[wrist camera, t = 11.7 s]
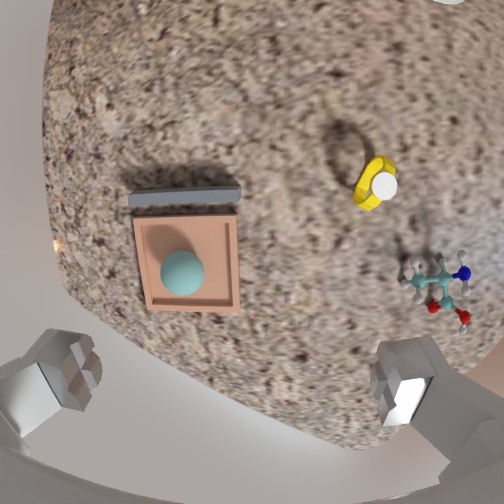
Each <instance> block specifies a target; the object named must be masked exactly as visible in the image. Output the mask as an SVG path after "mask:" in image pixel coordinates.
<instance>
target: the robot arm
mask: <svg viewBox="0 0 504 504" xmlns="http://www.w3.org/2000/svg"><path fill="white" fill-rule="evenodd" d="M434 1H436V2H440V3H443V4H459V3H462V2H463V1H465V0H434ZM93 348H94V343H93V341H92V338H91V337H90V336H88V335H86V334H81V333H75V332H69V331H64V330H57V329H52V328H51V329H47V330H46V331H45V332H44V333H43V334H42V335H41V336H40V338H39V339H38V340H37V341H36V342H35V343H34V344H33V346H32V347H31V348H30V349H29V350H28V351H27V353H26V354H25V355H24V356H23V357H22V358H17V359H15V360H13V361H10V362H8V363H6V364H4V365H2V366H0V504H181V503H175V502H170V501H165V500H158V499H154V498H149V497H145V496H140V495H136V494H132V493H128V492H124V491H120V490H117V489H113V488H110V487H106V486H103V485H100V484H96V483H94V482H90V481H87V480H85V479H82V478H79V477H76V476H73V475H71V474H68V473H65V472H63V471H60V470H57V469H55V468H53V467H51V466H48V465H46V464H43V463H41V462H39V461H36V460H35V459H33V458H30V457H28V455H29V453H30V448H29V446H28V445H27V444H26V443H25V442H24V440H23V439H22V438H23V437H24V436H25V435H27V434H28V433H29V432H30V431H32V430H33V429H35V428H36V427H37V426H39V425H40V424H41V423H43V422H44V421H45V420H47V419H48V418H49V417H50V416H52V415H53V414H54V413H56V412H57V411H58V410H60V409H61V408H62V407H66V408H70V409H74V410H78V411H82V412H84V410H85V408H86V406H87V404H88V403H89V401H90V399H91V397H92V395H91V391H90V390H92V389H93V388H95V387H97V386H98V384H99V382H100V380H101V375H102V364H101V361H100V358H99V357H98V356H97V355H96V354H95V353H94V352H93ZM376 354H377V356H378V359H379V360H378V361H377V362H376V363H375V364H374V365H373V367H372V371H371V379H370V384H371V391H372V394H373V397H374V398H376V399H377V400H378V401H380V402H379V404H378V407H377V411H378V414H379V417H380V420H381V424H382V427H384V426H391V425H398V424H405V423H410V424H411V425H412V426H413V427H414V428H415V429H416V430H417V431H418V432H419V433H420V434H421V435H423V436H424V437H425V438H426V439H427V440H428V441H429V442H430V443H431V444H432V445H433V446H435V447H436V448H437V449H438V450H439V451H440V452H441V453H442V454H443V455H444V456H446V457H447V458H448V459H449V460H450V461H451V462H450V463H449V464H448V465H447V466H446V467H445V469H444V470H443V471H442V472H441V473H440V475H439V476H438V478H439V481H440V484H437V485H434V486H431V487H428V488H424V489H421V490H417V491H414V492H410V493H406V494H402V495H397V496H393V497H388V498H384V499H379V500H374V501H368V502H362V503H356V504H504V398H502V397H500V396H499V395H497V394H495V393H493V392H491V391H490V390H488V389H486V388H485V387H483V386H481V385H480V384H478V383H476V382H474V381H473V380H471V379H469V378H467V377H466V376H464V375H462V374H461V373H459V372H457V373H454V372H453V370H452V369H451V367H450V365H449V364H448V362H447V360H446V359H445V357H444V355H443V354H442V352H441V351H440V349H439V347H438V346H437V344H436V343H435V341H434V340H433V338H432V337H430V336H424V337H417V338H413V339H403V340H393V341H383V342H380V344H379V346H378V349H377V352H376ZM61 406H62V407H61Z"/></svg>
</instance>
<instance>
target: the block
mask: <svg viewBox="0 0 504 504" xmlns="http://www.w3.org/2000/svg"><path fill="white" fill-rule="evenodd" d="M240 197H241V185H235V186H203V187H181V188H163V189H148V190H137V191H135V192H133V193H131V194H128V204H129V206H133V205H151V204H171V203H197V202H234V201H239V200H240Z"/></svg>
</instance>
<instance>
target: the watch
mask: <svg viewBox="0 0 504 504" xmlns="http://www.w3.org/2000/svg"><path fill="white" fill-rule="evenodd" d="M382 166H383V168H382V171H380V172H377V171H378V170H379V169H380V168H381V167H382ZM394 174H395V166H394V162H393V161H391V160H390V159H388V158H386V157H385V156H383V155H381V154H380V155H378V156H376V157H374V158H373V159H372V160H371V161H370V162H369V163H368V164H367V166H366V168H365V170H364V172H363V174H362V176H361V178H360V180H359V181H358V183H357V185H356V187H355V191H354V203H355V204H357V205H358V206H360V207H362V208H364V209H366V210H371V209H373V208H375V207H376V206H377V205H378V204H379V203H380V202H381V201H382V200H388V199H390V198H392V197H393V196H394V195H395V193H396V190H397V182H396V179H395V178H394ZM369 187H370V191H371V193H370V194H369V195H368V196H367V197H366V199H365V196H366V191H367V190H368V188H369Z"/></svg>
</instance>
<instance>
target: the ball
mask: <svg viewBox="0 0 504 504" xmlns="http://www.w3.org/2000/svg"><path fill="white" fill-rule="evenodd" d="M160 277H161V281H162V283H163V285H164V286H165V288H166V289H167V290H169V291H170V292H171V293H173V294H176V295H189V294H191V293H194V292H195V291H196V290H198V289H199V287H200V286H201V284H202V282H203V280H204V267H203V264H202V262H201V260H200V259H199V258H198V257H197V256H196V255H195V254H193V253H191V252H188V251H176V252H173V253H171V254H170V255H168V256H167V257H166V258H165V260H164V261H163V263H162V265H161V269H160Z"/></svg>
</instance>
